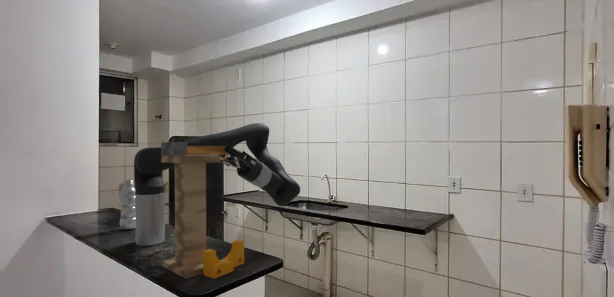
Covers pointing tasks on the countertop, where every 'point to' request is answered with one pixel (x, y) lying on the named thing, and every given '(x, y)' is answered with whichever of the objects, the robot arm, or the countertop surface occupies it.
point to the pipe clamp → (223, 260)
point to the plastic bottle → (128, 205)
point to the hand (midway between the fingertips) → (217, 147)
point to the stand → (189, 213)
